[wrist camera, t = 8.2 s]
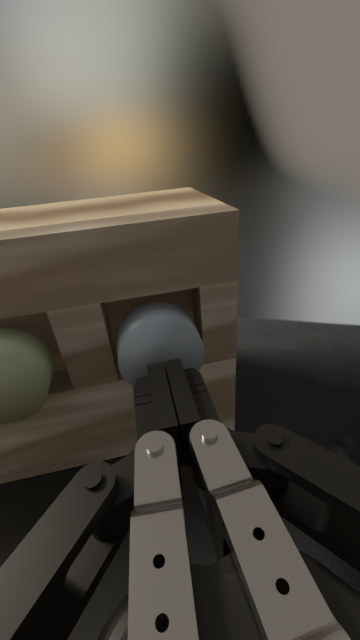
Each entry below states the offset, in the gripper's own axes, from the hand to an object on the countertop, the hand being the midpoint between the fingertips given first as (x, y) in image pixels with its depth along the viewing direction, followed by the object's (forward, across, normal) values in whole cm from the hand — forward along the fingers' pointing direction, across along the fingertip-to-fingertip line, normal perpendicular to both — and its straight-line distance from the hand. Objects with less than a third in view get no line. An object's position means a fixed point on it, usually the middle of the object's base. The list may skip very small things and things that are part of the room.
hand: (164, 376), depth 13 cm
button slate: (+2, 0, +2) cm, 3 cm away
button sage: (+2, +7, +2) cm, 8 cm away
